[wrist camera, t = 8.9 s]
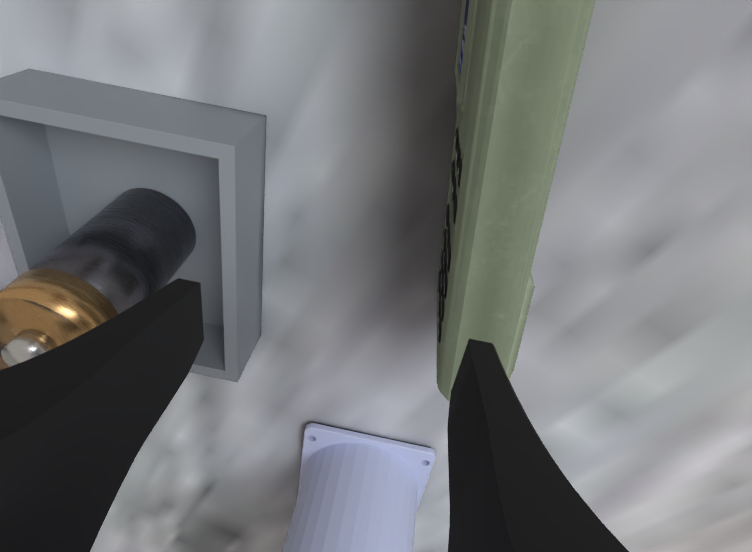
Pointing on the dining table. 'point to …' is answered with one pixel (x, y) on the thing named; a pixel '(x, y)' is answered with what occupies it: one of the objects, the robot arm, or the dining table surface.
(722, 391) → the dining table surface
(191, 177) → the cell bin
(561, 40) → the handheld radio
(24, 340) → the battery cell
